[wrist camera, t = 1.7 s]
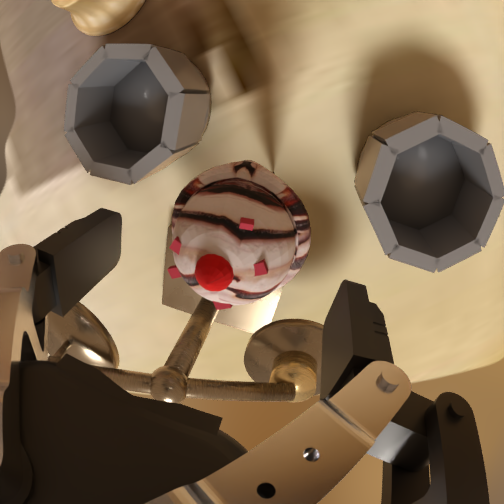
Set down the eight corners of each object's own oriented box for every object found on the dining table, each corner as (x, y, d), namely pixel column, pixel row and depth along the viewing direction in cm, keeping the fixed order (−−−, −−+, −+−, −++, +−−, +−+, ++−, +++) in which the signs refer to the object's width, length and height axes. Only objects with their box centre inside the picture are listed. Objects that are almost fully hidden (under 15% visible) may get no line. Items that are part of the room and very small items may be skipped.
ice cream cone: (300, 124, 21) (271, 164, 8) (323, 199, 23) (325, 342, 10) (224, 148, 22) (99, 224, 9) (250, 218, 25) (173, 359, 11)
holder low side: (376, 97, 19) (395, 95, 14) (481, 144, 18) (519, 159, 13) (340, 213, 23) (346, 244, 18) (441, 247, 22) (465, 283, 18)
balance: (118, 205, 26) (-10, 298, 13) (357, 274, 25) (377, 441, 12) (117, 279, 30) (24, 383, 17) (324, 344, 29) (314, 493, 16)
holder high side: (118, 50, 20) (74, 45, 15) (222, 58, 19) (195, 47, 15) (104, 152, 24) (62, 168, 19) (199, 173, 24) (169, 194, 19)
